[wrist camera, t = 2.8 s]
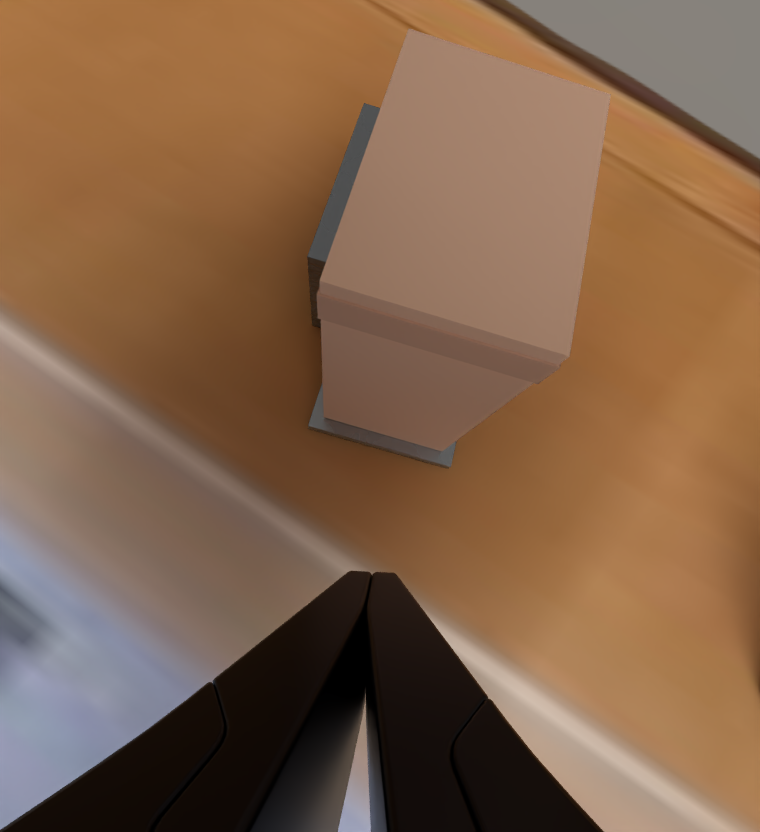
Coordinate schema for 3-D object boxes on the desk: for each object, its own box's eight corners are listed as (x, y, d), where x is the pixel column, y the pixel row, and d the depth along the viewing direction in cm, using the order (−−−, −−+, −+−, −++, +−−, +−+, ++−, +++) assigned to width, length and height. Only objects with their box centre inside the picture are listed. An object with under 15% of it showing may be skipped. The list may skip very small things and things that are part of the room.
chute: (475, 476, 19) (527, 456, 14) (278, 420, 18) (262, 378, 14) (522, 251, 22) (577, 170, 17) (355, 199, 22) (364, 103, 17)
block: (442, 453, 18) (571, 359, 9) (322, 417, 18) (316, 282, 8) (477, 304, 20) (613, 93, 11) (369, 271, 20) (407, 25, 10)
